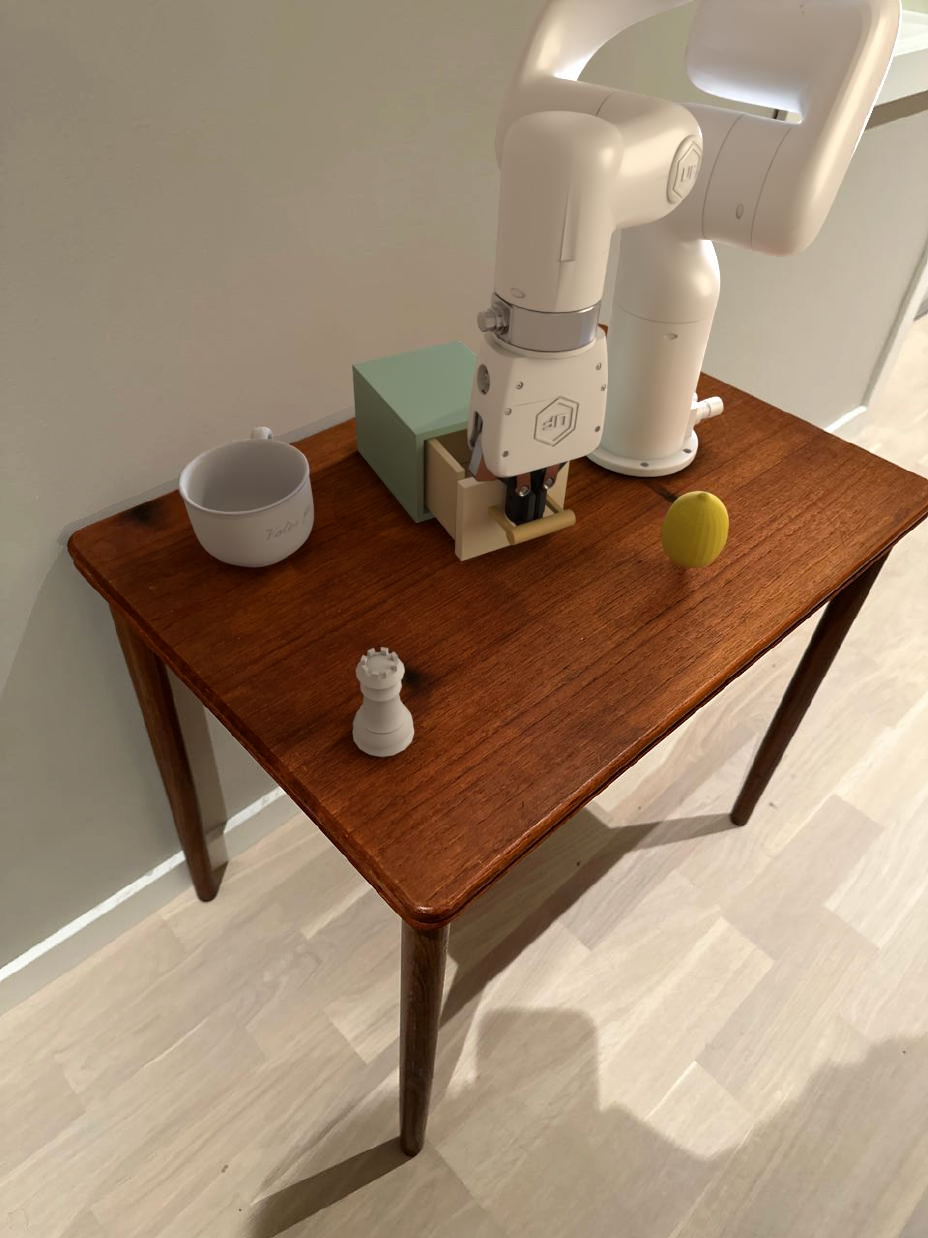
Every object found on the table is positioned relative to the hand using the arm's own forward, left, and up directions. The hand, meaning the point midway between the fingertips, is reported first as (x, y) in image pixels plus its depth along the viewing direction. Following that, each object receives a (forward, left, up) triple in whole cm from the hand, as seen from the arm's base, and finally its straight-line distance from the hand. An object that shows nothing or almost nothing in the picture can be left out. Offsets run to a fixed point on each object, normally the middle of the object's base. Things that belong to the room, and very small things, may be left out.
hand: (523, 522), depth 74 cm
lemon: (-13, +7, -5) cm, 16 cm away
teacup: (+19, -14, -5) cm, 24 cm away
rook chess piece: (+19, +12, -5) cm, 23 cm away
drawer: (0, -6, -4) cm, 7 cm away
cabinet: (0, -16, -5) cm, 17 cm away
